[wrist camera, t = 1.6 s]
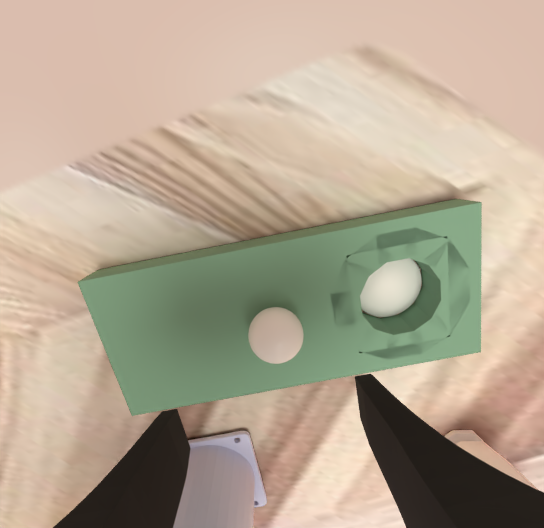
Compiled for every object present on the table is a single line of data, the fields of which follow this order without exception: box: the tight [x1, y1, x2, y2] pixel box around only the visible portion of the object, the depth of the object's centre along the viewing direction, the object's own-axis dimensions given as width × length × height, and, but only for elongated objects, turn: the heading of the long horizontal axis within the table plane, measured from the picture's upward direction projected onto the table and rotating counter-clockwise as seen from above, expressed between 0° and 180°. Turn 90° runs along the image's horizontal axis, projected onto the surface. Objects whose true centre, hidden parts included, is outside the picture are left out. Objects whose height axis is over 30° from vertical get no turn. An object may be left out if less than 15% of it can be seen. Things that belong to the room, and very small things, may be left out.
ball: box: [248, 307, 304, 364], centre depth 18 cm, size 3×3×3 cm
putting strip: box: [78, 199, 482, 416], centre depth 20 cm, size 24×10×2 cm, turn 101°
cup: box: [444, 430, 538, 490], centre depth 22 cm, size 7×10×8 cm
